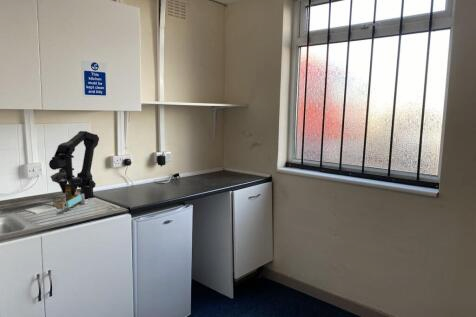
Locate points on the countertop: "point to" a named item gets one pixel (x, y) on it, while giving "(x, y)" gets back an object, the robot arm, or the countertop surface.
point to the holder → (61, 202)
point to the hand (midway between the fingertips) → (68, 194)
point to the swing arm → (73, 201)
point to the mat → (40, 209)
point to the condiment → (70, 195)
